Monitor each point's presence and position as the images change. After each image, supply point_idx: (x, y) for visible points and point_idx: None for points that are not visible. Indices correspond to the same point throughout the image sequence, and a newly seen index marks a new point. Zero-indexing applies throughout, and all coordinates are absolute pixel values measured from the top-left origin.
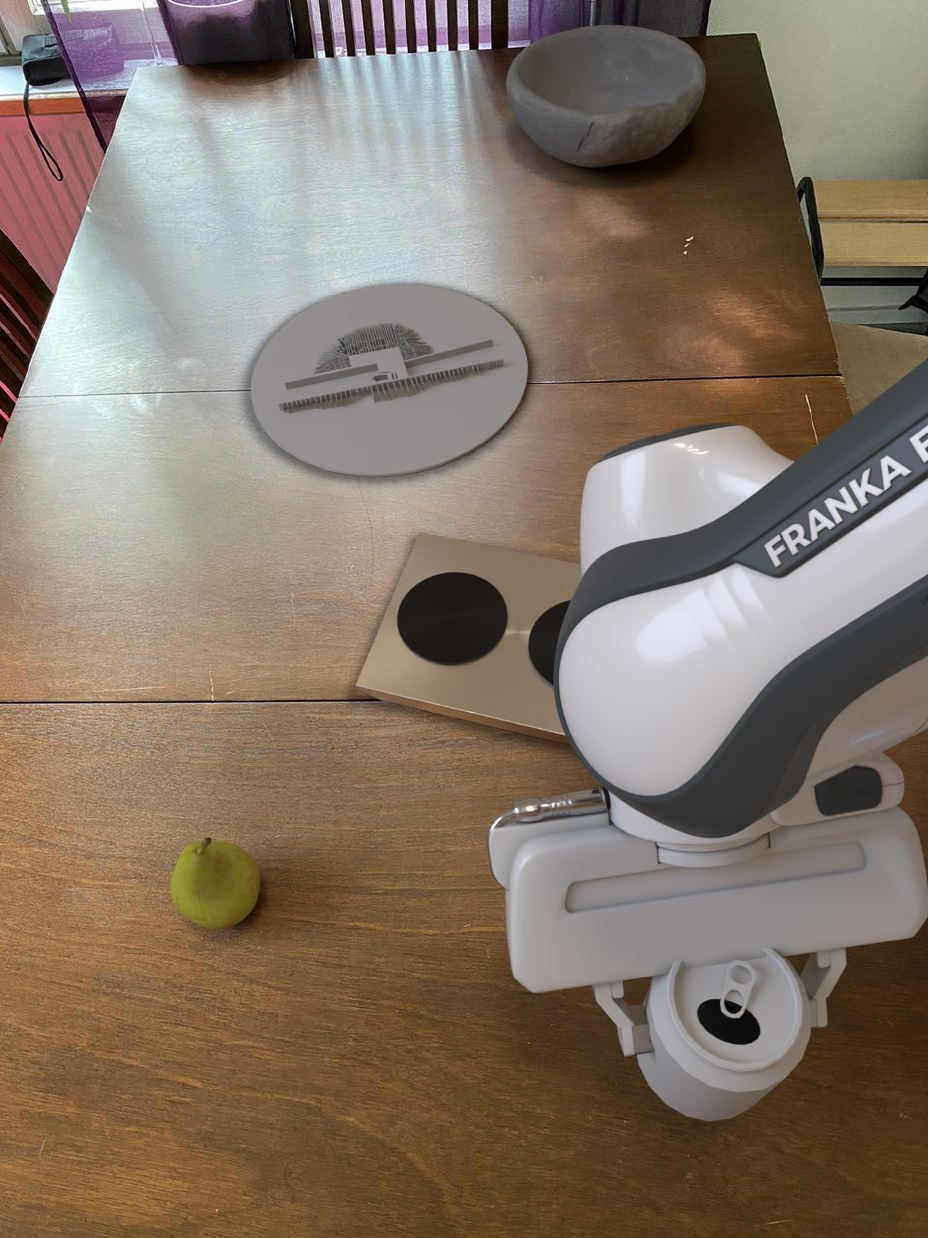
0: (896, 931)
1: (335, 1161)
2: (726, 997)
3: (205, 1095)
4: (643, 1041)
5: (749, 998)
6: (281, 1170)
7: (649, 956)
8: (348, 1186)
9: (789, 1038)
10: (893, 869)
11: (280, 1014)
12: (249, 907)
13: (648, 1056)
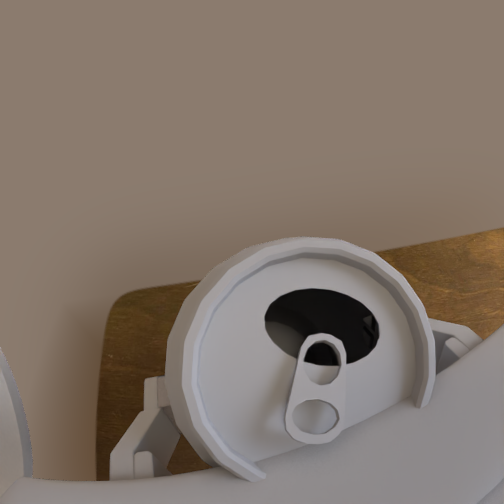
0: (32, 491)
1: (445, 269)
2: (332, 370)
3: (497, 284)
4: None
5: (288, 378)
6: (462, 260)
7: (469, 390)
8: (436, 259)
9: (211, 306)
10: None
11: (487, 331)
12: None
13: (347, 325)
